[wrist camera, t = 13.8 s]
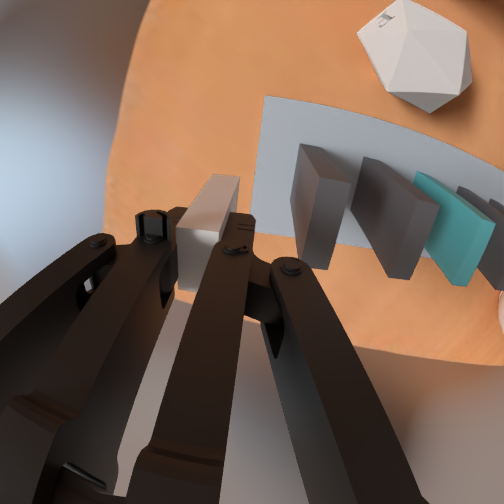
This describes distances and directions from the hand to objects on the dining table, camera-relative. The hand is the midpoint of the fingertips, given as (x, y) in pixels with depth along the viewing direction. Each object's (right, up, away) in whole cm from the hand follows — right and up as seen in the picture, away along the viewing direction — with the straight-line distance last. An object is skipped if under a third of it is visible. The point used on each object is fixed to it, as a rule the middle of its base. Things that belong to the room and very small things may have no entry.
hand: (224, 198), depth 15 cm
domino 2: (+11, +3, +7) cm, 13 cm away
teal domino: (+17, +2, +7) cm, 18 cm away
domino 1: (+6, +3, +7) cm, 10 cm away
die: (+14, +13, +1) cm, 19 cm away
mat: (+17, +2, +7) cm, 18 cm away
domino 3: (+22, +1, +7) cm, 23 cm away
